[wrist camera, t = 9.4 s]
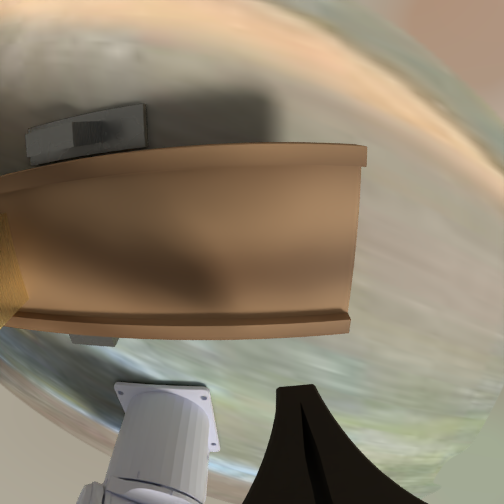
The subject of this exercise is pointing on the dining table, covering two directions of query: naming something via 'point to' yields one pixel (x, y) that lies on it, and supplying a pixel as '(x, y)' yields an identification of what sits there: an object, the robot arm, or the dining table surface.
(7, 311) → the block
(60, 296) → the beam
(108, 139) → the stand
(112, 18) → the dining table surface
